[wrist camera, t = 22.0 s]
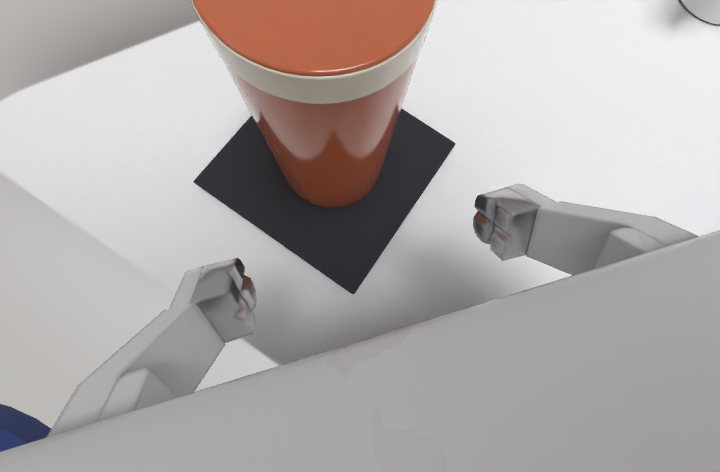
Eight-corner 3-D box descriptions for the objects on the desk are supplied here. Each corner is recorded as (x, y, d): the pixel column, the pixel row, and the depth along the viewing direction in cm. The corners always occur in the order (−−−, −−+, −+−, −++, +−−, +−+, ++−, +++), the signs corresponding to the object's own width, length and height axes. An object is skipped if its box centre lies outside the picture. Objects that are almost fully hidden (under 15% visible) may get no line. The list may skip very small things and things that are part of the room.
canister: (344, 228, 17) (347, 126, 6) (259, 170, 17) (123, -22, 7) (401, 149, 18) (485, -51, 7) (320, 96, 19) (290, -168, 8)
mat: (353, 294, 17) (353, 294, 16) (196, 183, 17) (192, 181, 17) (453, 146, 19) (455, 143, 19) (310, 53, 20) (310, 48, 19)
